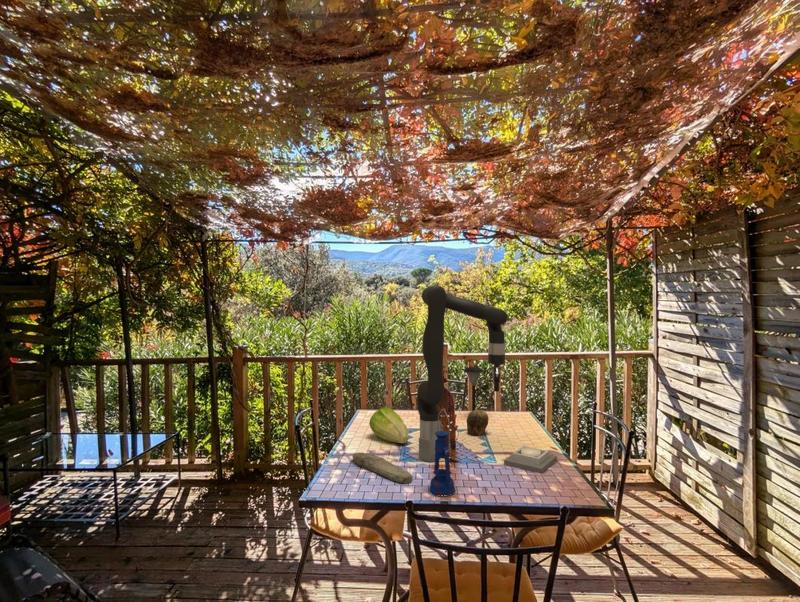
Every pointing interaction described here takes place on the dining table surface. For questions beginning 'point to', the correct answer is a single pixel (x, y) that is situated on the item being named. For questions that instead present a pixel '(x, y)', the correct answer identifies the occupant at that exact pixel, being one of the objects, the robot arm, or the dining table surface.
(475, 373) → the solar garden light
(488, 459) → the dining table surface
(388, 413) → the lettuce
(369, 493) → the dining table surface
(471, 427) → the brown rounded block
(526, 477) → the dining table surface
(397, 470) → the long grey stone
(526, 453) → the button
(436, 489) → the lantern
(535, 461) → the button plate
